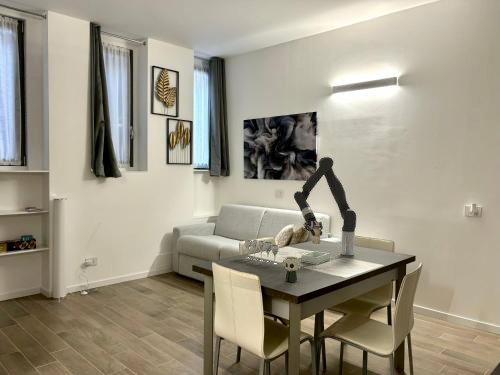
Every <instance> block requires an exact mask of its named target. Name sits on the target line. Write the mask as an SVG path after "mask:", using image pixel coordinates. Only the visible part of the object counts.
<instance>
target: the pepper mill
mask: <svg viewBox="0 0 500 375" xmlns="http://www.w3.org/2000/svg"><path fill="white" fill-rule="evenodd" d="M313 230H314V232H315V236H313V235H312V234H311V235H312V236H311V238H312V239H311V243H312V244H316V245H319V244H320V243H321V236H320V225H313Z"/></svg>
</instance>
